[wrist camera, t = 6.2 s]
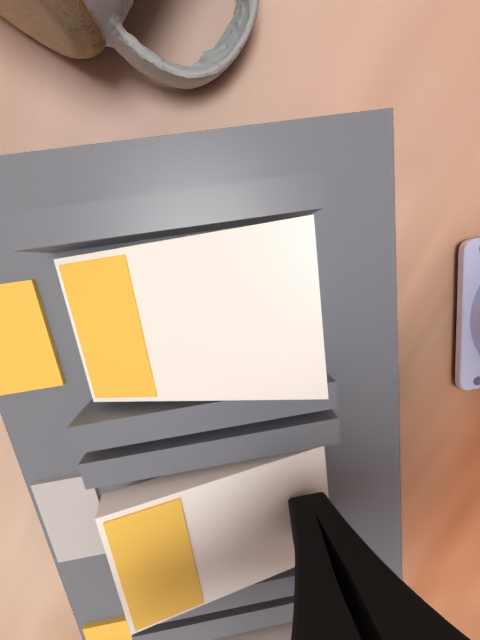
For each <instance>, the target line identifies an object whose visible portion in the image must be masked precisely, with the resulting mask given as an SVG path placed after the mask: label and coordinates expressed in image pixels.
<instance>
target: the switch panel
mask: <svg viewBox="0 0 480 640" xmlns="http://www.w3.org/2000/svg"><path fill="white" fill-rule="evenodd" d="M308 215H314V224H315V236H316V249H317V261H318V274H319V287H320V299H321V312H322V324H323V337H324V349H325V362H326V374H327V387H328V399H312V400H223V401H133V402H93V398H92V395H91V391H90V387H89V384H88V380H87V377H86V373H85V370H84V366H83V363H82V359H81V355H80V352H79V348H78V345H77V341H76V338H75V334H74V331H73V327H72V323H71V320H70V316H69V313H68V309H67V306H66V302H65V299H64V295H63V291H62V288H61V284H60V281H59V277H58V274H57V270H56V266H55V263H54V259H59V258H65V257H71V256H76V255H82V254H88V253H94V252H100V251H105V250H111V249H117V248H123V247H128V246H134V245H140V244H146V243H152V242H157V241H163V240H169V239H175V238H181V237H186V236H192V235H198V234H204V233H210V232H215V231H221V230H227V229H233V228H239V227H244V226H250V225H256V224H262V223H268V222H273V221H279V220H285V219H291V218H296V217H302V216H308ZM0 413H1V416H2V419H3V421H4V424H5V427H6V430H7V432H8V435H9V438H10V441H11V443H12V446H13V449H14V452H15V454H16V457H17V460H18V463H19V465H20V468H21V471H22V474H23V476H24V479H25V482H26V485H27V487H28V490H29V493H30V496H31V498H32V501H33V504H34V506H35V509H36V512H37V515H38V517H39V520H40V523H41V526H42V528H43V531H44V534H45V537H46V539H47V542H48V545H49V548H50V550H51V553H52V556H53V559H54V561H55V564H56V567H57V570H58V572H59V575H60V578H61V581H62V583H63V586H64V589H65V592H66V594H67V597H68V600H69V603H70V605H71V608H72V611H73V614H74V616H75V619H76V622H77V624H78V627H79V630H80V633H81V635H82V638H83V640H210V639H215V638H220V637H224V636H229V635H234V634H238V633H243V632H247V631H252V630H257V629H261V628H266V627H271V626H275V625H280V624H285V623H289V622H293V609H294V589H295V567H294V568H291V569H289V570H286V571H284V572H282V573H279V574H277V575H274V576H272V577H270V578H267V579H265V580H262V581H260V582H258V583H255V584H253V585H250V586H248V587H246V588H243V589H241V590H238V591H236V592H234V593H231V594H229V595H226V596H224V597H221V598H219V599H217V600H214V601H212V602H209V603H207V604H205V605H202V606H200V607H197V608H195V609H193V610H190V611H188V612H185V613H183V614H181V615H178V616H176V617H173V618H171V619H169V620H166V621H164V622H161V623H159V624H157V625H154V626H152V627H149V628H147V629H145V630H142V631H140V632H137V633H135V634H133V635H131V633H130V630H129V627H128V624H127V620H126V617H125V614H124V611H123V607H122V604H121V601H120V598H119V595H118V591H117V588H116V585H115V582H114V579H113V575H112V572H111V569H110V566H109V563H108V559H107V556H106V553H105V550H104V546H103V543H102V540H101V537H100V534H99V530H98V527H97V524H96V521H95V517H96V514H97V510H98V506H99V503H100V499H101V496H102V494H105V493H108V492H112V491H115V490H118V489H122V488H125V487H128V486H131V485H135V484H138V483H141V482H144V481H148V480H151V479H154V478H158V477H161V476H164V475H169V474H175V473H180V472H186V471H191V470H196V469H202V468H207V467H213V466H218V465H224V464H229V463H235V462H240V461H245V460H251V459H256V458H262V457H267V456H273V455H278V454H284V453H289V452H294V451H300V450H305V449H311V448H316V447H322V446H324V449H325V460H326V472H327V483H328V495H329V500H330V501H331V502H332V504H333V505H334V506H335V508H336V509H337V510H338V511H339V513H340V514H341V515H342V516H343V517H344V519H345V520H346V521H347V522H348V524H349V525H350V526H351V527H352V528H353V529H354V530H355V532H356V533H357V534H358V535H359V536H360V537H361V538H362V539H363V541H364V542H365V543H366V544H367V545H368V546H369V547H370V548H371V549H372V550H373V551H374V553H375V554H376V555H377V556H378V557H379V558H380V559H381V560H382V561H383V562H384V563H385V564H386V565H387V566H388V567H389V568H390V569H391V570H392V571H393V572H394V573H395V574H396V575H397V576H398V577H399V578H400V579H401V580H402V533H401V483H400V432H399V382H398V331H397V280H396V230H395V179H394V128H393V108H386V109H378V110H370V111H362V112H353V113H345V114H337V115H329V116H320V117H312V118H304V119H296V120H287V121H279V122H271V123H263V124H255V125H246V126H238V127H230V128H222V129H213V130H205V131H197V132H189V133H181V134H172V135H164V136H156V137H148V138H139V139H131V140H123V141H115V142H107V143H98V144H90V145H82V146H74V147H65V148H57V149H49V150H41V151H32V152H24V153H16V154H8V155H0Z"/></svg>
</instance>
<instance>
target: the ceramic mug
mask: <svg viewBox="0 0 480 640" xmlns="http://www.w3.org/2000/svg"><path fill="white" fill-rule="evenodd" d="M133 3H134V0H0V15H1V16H2V17H3V18H5V19H6V20H7V21H9V22H10V23H11V24H13V25H14V26H16V27H17V28H18V29H20V30H21V31H23V32H24V33H26V34H28V35H29V36H31V37H32V38H34V39H35V40H37V41H38V42H40V43H41V44H43V45H45V46H46V47H48V48H50V49H52V50H54V51H56V52H58V53H59V54H61V55H64V56H67V57H70V58H73V59H88V58H92V57H95V56H97V55H98V54H100V53H101V52H102V51H103V50H104V48H105V47H113V48H114V49H115V50H116V51H117V52H118V53H119V54H120V55H121V56H122V57H124V58H125V59H126V60H127V61H128V63H129V64H130V65H132V66H133V67H134V68H136V69H137V70H138V71H140V72H142V73H143V74H145V75H147V76H149V77H151V78H153V79H155V80H156V81H158V82H160V83H162V84H164V85H168V86H171V87H175V88H179V89H192V88H196V87H200V86H203V85H205V84H207V83H209V82H211V81H212V80H214V79H216V78H217V77H218V76H219V75H220V74H221V73H222V72H224V71H225V70H226V69H227V68H228V67H229V66H230V64H231V63H232V62H233V61H234V60H235V59H236V58H237V56H238V55H239V54H240V52H241V50H242V49H243V47H244V45H245V44H246V42H247V40H248V39H249V36H250V33H251V30H252V28H253V25H254V22H255V19H256V15H257V11H258V4H259V0H237V5H236V8H235V11H234V17H233V19H232V20H231V22H230V24H229V25H228V27H227V29H226V30H225V32H224V34H223V36H222V37H221V39H220V40H219V42H218V43H217V44H216V46H215V47H214V48H213V49H211V50H208V51H205V52H203V54H202V56H201V58H200V60H199V62H197V63H195V64H194V65H193V66H192V67H186V66H182V65H178V64H175V63H172V62H167V61H165V60H164V59H163V58H162V57H160V56H159V55H157V54H156V53H154V52H153V51H151V50H149V49H148V48H147V47H145V46H144V45H142V44H141V43H140V42H139V41H138V40H137V39H136V38H135V37H134V36H133V35H131V34H130V33H128V32H127V31H126V30H125V28H124V27H123V26H122V24H123V22H124V20H125V18H126V16H127V14H128V12H129V10H130V9H131V7H132V5H133Z"/></svg>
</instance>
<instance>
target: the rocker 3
mask: <svg viewBox="0 0 480 640" xmlns="http://www.w3.org/2000/svg"><path fill="white" fill-rule="evenodd" d="M292 624H293V622H289V623H285V624H280V625H275V626H271V627H266V628H261V629H257V630H252V631H247V632H243V633H238V634H234V635H229V636H224V637H220V638H215V639H210V640H291V635H292Z"/></svg>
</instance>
